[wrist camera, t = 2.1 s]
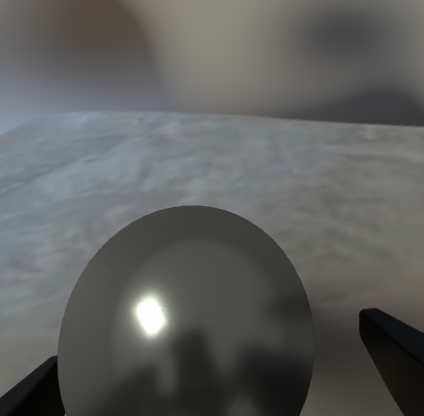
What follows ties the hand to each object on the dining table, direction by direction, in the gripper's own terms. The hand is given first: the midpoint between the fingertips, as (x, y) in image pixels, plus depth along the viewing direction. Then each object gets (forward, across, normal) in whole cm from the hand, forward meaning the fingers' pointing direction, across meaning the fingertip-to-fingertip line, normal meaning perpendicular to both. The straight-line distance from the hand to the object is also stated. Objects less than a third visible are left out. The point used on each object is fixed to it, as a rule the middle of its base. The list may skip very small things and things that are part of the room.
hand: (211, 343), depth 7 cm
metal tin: (+6, 0, +6) cm, 9 cm away
